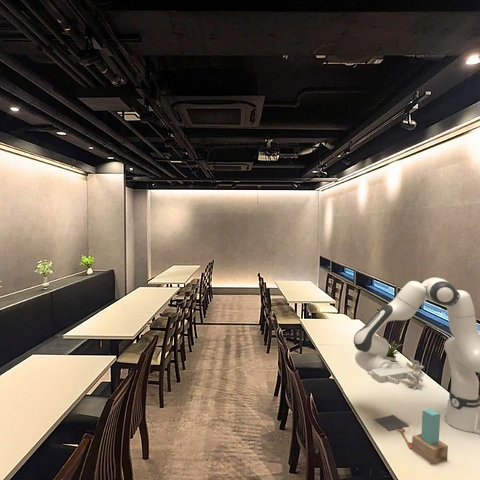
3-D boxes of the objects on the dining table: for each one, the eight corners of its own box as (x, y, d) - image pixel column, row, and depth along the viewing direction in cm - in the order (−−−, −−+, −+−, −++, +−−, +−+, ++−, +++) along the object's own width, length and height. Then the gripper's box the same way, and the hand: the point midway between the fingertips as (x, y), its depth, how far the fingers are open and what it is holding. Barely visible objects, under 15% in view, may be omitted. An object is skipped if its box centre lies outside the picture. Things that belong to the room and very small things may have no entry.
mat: (392, 415, 180) (393, 414, 180) (409, 426, 171) (409, 425, 171) (373, 419, 175) (373, 419, 175) (389, 431, 166) (389, 430, 166)
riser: (425, 446, 156) (426, 432, 155) (447, 460, 146) (447, 445, 146) (411, 450, 153) (412, 435, 152) (432, 464, 143) (433, 449, 143)
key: (420, 451, 153) (408, 430, 168) (420, 449, 153) (408, 428, 168) (405, 448, 153) (394, 427, 168) (405, 446, 153) (395, 425, 168)
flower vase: (380, 389, 224) (422, 393, 205) (372, 360, 224) (413, 361, 206) (390, 379, 233) (430, 383, 214) (381, 351, 233) (421, 352, 215)
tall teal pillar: (429, 436, 152) (430, 408, 152) (438, 442, 148) (440, 413, 147) (421, 438, 150) (422, 410, 150) (430, 445, 146) (432, 415, 146)
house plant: (399, 361, 253) (400, 338, 252) (406, 369, 239) (407, 344, 238) (377, 360, 254) (378, 336, 253) (383, 368, 240) (384, 343, 239)
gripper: (365, 365, 169) (388, 377, 156) (399, 360, 177) (423, 371, 164) (364, 378, 169) (387, 391, 156) (398, 373, 177) (422, 385, 164)
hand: (406, 381), depth 160 cm, fingers open, 8 cm apart
